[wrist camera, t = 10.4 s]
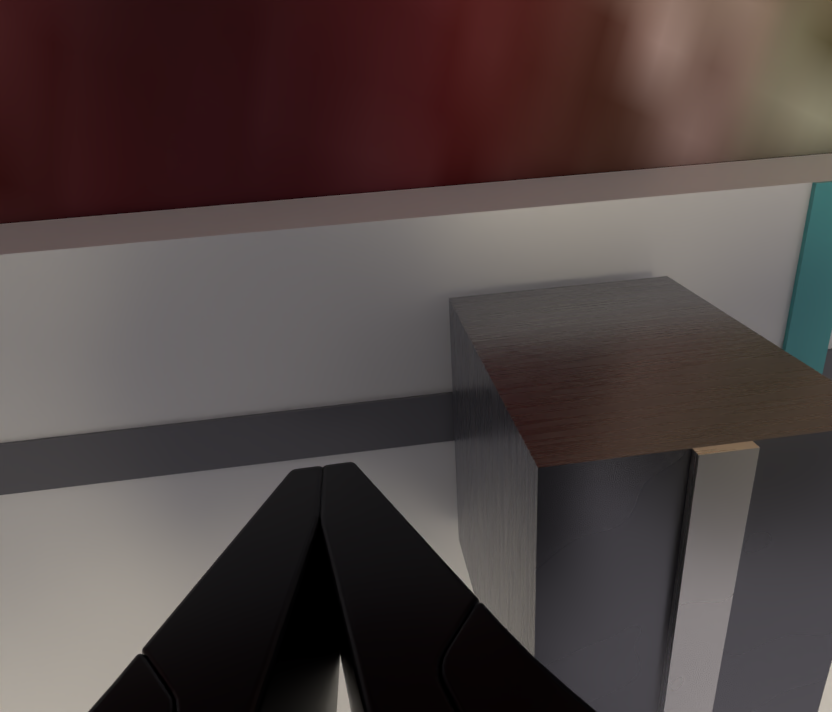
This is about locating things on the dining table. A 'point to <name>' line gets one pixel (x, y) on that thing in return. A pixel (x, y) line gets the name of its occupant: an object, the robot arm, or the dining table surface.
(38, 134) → the dining table surface
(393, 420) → the slotted white panel
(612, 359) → the fader
